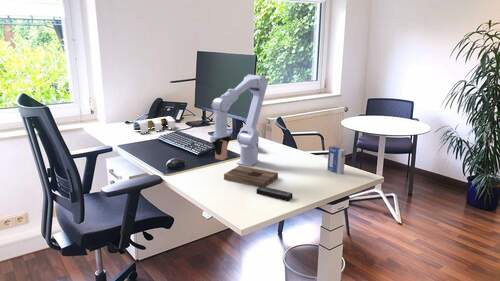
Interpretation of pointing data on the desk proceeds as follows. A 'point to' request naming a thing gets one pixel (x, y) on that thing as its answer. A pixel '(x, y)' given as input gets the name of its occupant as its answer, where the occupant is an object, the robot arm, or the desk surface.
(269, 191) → the multiport hub
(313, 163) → the desk surface
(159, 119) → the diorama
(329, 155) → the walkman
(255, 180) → the pin plate
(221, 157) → the pin
